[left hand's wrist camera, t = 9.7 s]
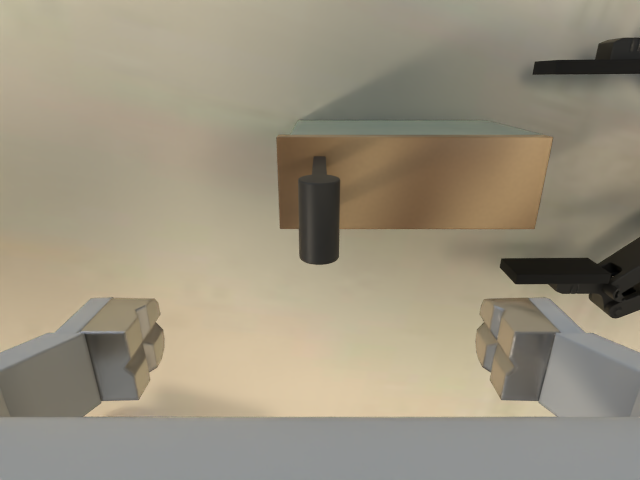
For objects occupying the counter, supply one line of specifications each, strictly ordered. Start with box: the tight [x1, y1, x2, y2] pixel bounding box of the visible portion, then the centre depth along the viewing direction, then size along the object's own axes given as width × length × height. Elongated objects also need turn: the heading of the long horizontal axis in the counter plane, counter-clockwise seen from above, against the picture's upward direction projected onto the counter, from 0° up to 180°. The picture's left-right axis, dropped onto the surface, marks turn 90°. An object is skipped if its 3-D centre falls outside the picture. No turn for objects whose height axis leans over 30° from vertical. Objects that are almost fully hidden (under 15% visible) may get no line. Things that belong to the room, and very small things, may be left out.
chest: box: [290, 120, 543, 135], centre depth 29 cm, size 15×5×9 cm, turn 90°
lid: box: [276, 135, 553, 265], centre depth 21 cm, size 15×5×8 cm, turn 90°
